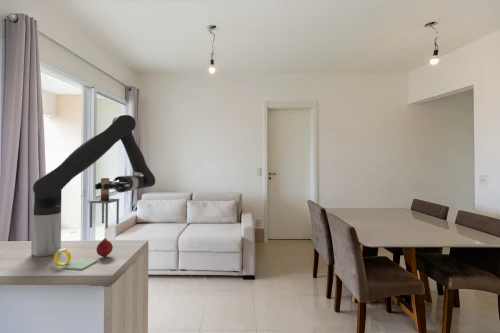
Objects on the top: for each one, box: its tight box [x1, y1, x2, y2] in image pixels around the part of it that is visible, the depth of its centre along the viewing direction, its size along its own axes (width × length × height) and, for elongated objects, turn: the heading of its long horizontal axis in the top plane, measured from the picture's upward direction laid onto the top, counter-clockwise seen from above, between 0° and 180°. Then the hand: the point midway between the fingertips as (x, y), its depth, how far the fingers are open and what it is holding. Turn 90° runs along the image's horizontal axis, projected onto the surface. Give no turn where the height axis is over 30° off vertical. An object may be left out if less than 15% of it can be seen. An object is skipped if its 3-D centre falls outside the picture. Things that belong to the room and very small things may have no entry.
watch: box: [53, 247, 72, 266], centre depth 95 cm, size 6×3×6 cm, turn 85°
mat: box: [61, 258, 99, 271], centre depth 95 cm, size 8×8×1 cm
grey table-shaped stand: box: [89, 177, 120, 229], centre depth 103 cm, size 8×8×20 cm
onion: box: [96, 237, 114, 258], centre depth 103 cm, size 6×6×8 cm
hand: (100, 186), depth 100 cm, fingers closed on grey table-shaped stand, 3 cm apart
